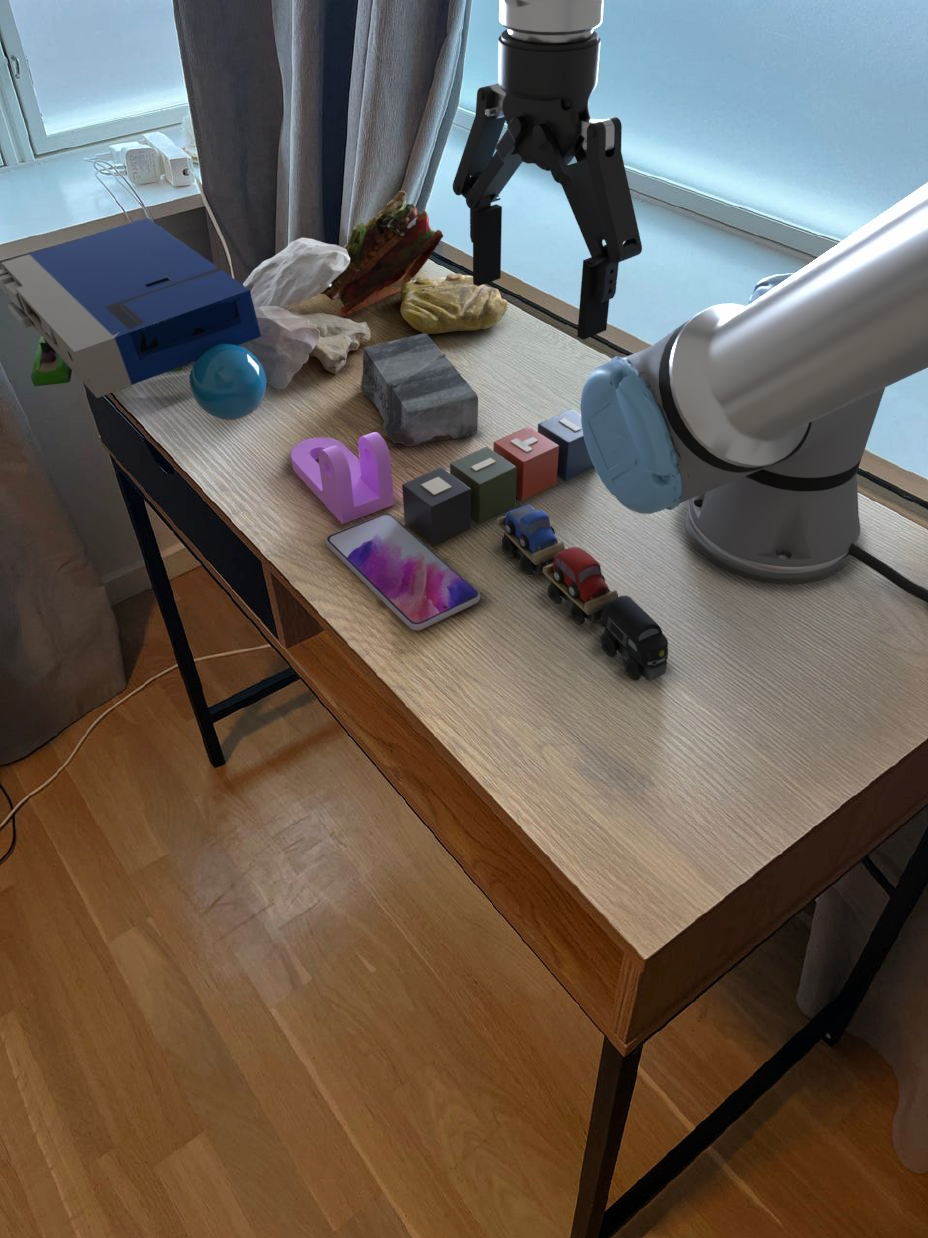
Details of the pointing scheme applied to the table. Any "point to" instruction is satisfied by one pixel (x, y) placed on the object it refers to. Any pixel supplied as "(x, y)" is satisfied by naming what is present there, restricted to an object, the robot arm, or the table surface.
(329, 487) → the bracket
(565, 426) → the block
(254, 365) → the ball
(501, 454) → the letter block
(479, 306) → the sculpture
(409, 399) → the stone block
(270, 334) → the stone tool
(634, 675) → the toy train
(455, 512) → the block
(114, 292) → the electronic device
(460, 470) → the block
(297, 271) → the fragment
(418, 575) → the smartphone
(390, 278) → the sandwich
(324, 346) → the stone
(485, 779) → the table surface
